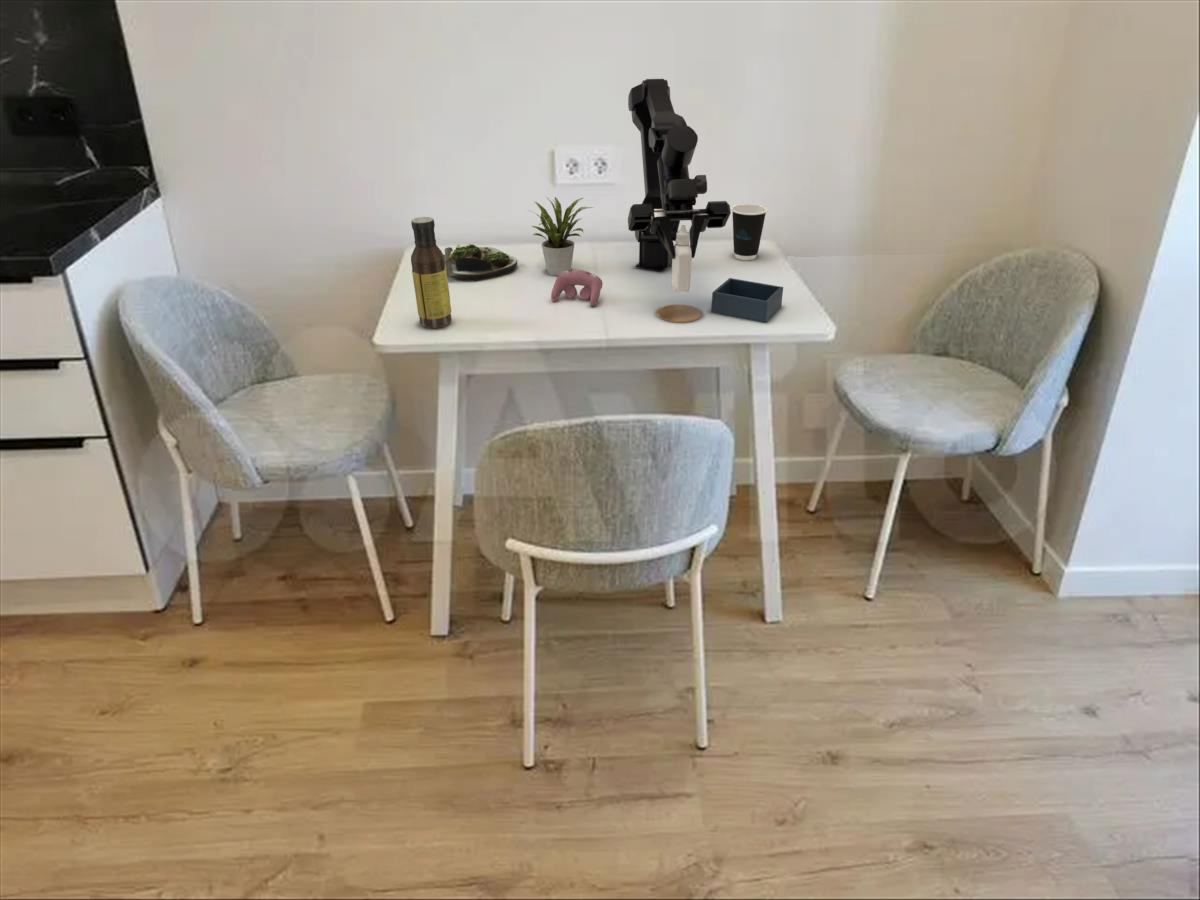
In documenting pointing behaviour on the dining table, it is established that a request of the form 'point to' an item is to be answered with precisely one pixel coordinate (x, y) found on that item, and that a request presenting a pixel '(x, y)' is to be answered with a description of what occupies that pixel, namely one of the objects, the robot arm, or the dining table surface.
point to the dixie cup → (747, 229)
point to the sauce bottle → (429, 276)
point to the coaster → (679, 313)
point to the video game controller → (577, 277)
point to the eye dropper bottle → (682, 262)
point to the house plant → (558, 237)
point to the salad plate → (477, 262)
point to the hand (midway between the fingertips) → (683, 257)
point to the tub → (747, 300)
